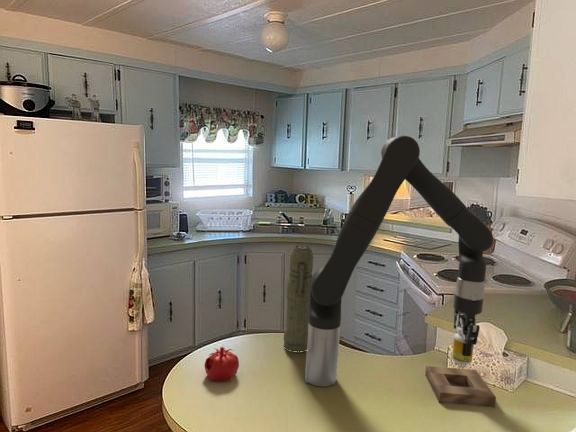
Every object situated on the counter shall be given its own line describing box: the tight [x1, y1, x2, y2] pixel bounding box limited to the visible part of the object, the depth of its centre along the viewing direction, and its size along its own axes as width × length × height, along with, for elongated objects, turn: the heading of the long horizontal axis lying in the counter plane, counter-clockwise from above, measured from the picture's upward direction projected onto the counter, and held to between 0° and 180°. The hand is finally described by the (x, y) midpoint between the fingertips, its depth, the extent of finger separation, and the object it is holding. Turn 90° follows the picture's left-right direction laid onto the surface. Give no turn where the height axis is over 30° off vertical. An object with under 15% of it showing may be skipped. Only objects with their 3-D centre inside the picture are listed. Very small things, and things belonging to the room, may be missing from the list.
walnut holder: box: [425, 365, 497, 408], centre depth 127 cm, size 15×15×3 cm
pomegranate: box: [204, 346, 240, 383], centre depth 127 cm, size 10×10×9 cm
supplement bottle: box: [451, 326, 475, 365], centre depth 125 cm, size 5×5×10 cm
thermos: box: [283, 245, 314, 352], centre depth 146 cm, size 9×12×35 cm
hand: (462, 350), depth 125 cm, fingers closed on supplement bottle, 5 cm apart
